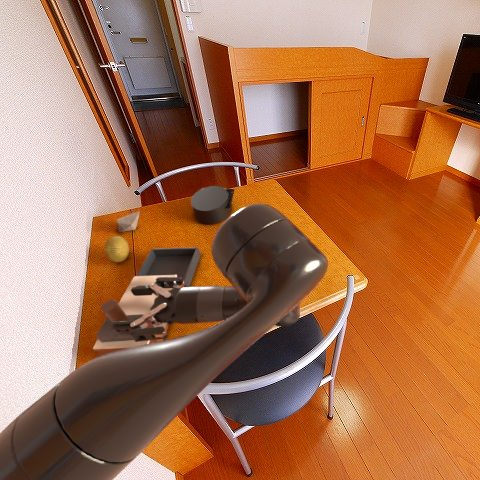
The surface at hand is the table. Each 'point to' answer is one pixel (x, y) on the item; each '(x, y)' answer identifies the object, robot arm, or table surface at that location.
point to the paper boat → (128, 222)
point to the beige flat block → (132, 313)
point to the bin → (171, 263)
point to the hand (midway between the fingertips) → (123, 308)
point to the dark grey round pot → (212, 204)
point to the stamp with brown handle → (113, 314)
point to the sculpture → (117, 249)
